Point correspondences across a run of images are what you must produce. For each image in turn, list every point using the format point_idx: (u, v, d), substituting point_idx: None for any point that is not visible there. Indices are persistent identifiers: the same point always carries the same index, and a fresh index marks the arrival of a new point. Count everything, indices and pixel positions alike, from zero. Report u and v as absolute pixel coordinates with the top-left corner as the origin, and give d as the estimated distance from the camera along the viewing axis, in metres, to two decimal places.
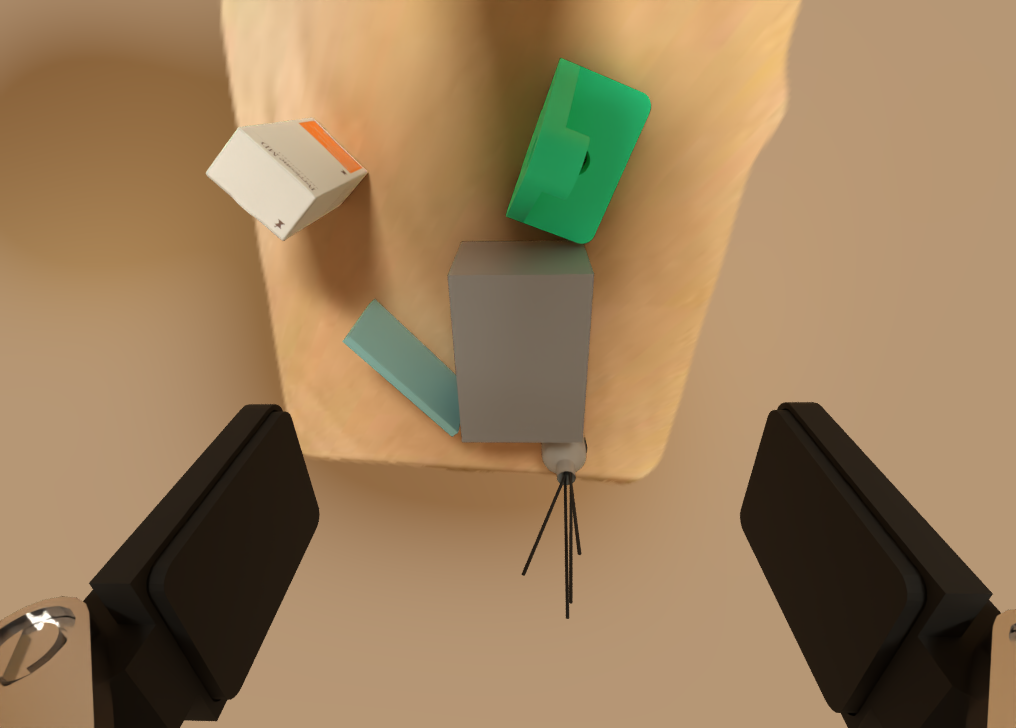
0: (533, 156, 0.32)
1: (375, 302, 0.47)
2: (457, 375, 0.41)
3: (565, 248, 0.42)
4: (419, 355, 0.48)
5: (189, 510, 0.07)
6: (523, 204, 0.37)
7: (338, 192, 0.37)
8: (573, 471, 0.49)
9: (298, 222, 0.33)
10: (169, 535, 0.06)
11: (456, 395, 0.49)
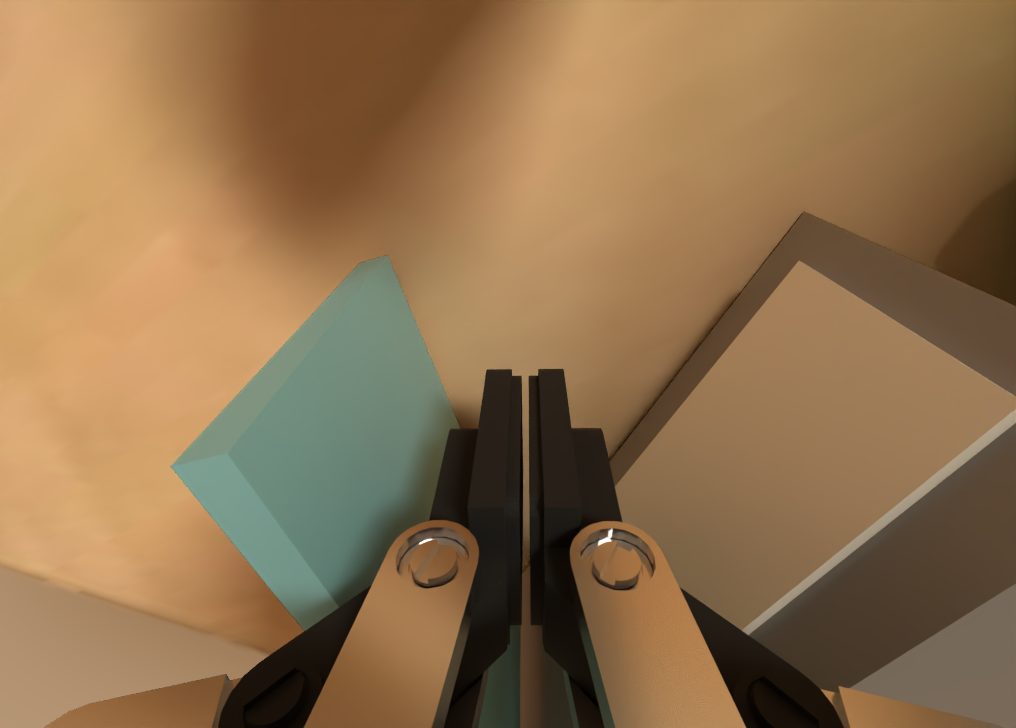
0: None
1: (387, 269, 0.13)
2: None
3: None
4: None
5: (505, 452, 0.08)
6: None
7: None
8: None
9: None
10: (505, 471, 0.07)
11: (511, 634, 0.16)
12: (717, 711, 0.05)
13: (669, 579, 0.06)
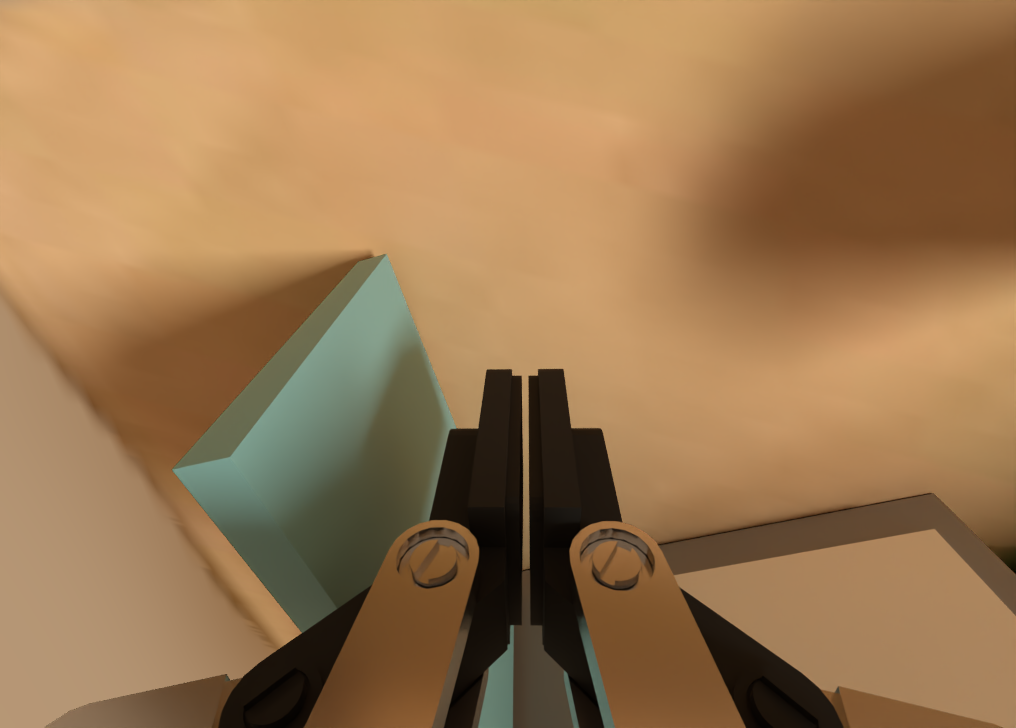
0: None
1: (386, 269, 0.13)
2: None
3: None
4: None
5: (505, 452, 0.08)
6: None
7: None
8: None
9: None
10: (505, 471, 0.07)
11: None
12: (717, 711, 0.05)
13: (669, 579, 0.06)
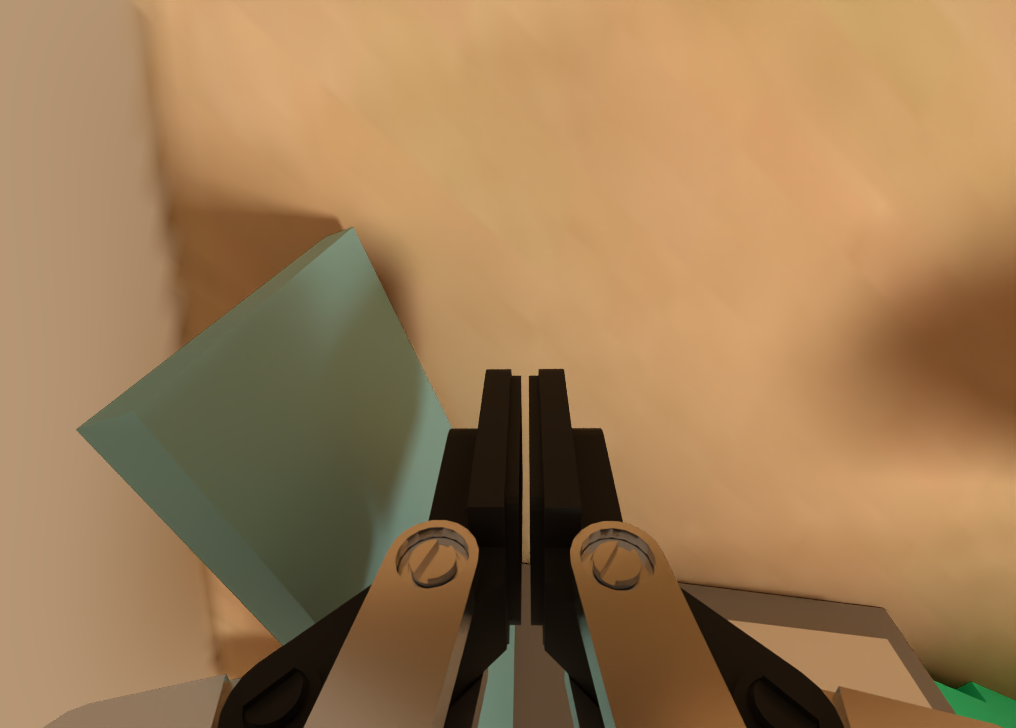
0: None
1: (352, 242, 0.12)
2: None
3: None
4: None
5: (504, 452, 0.08)
6: None
7: None
8: None
9: None
10: (505, 470, 0.07)
11: None
12: (717, 711, 0.05)
13: (669, 579, 0.06)
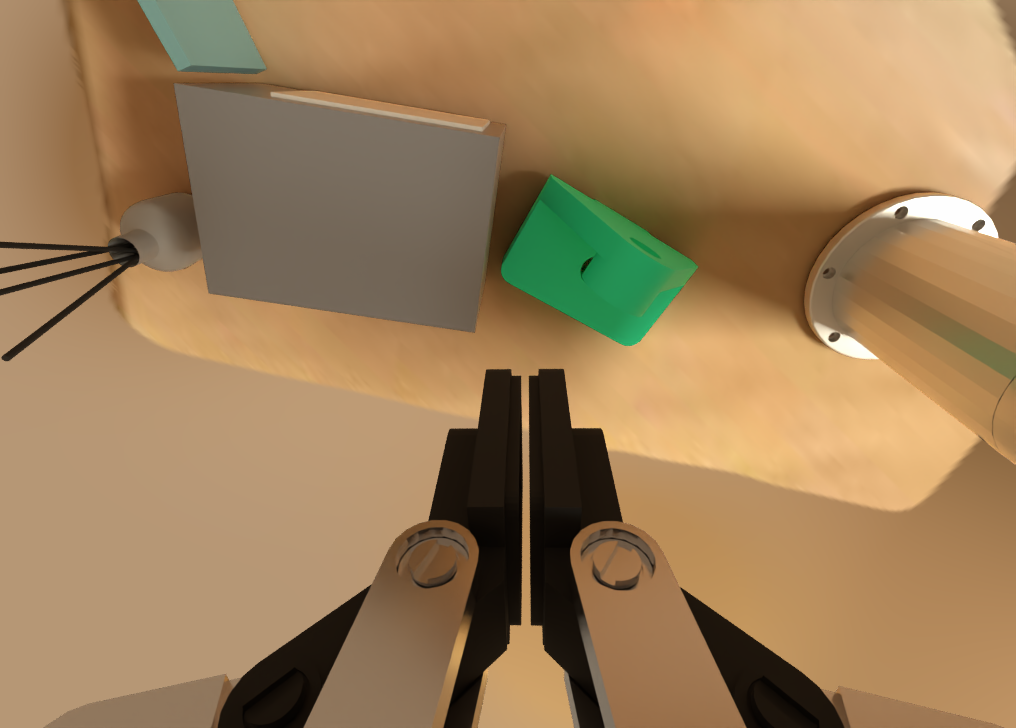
0: (653, 261, 0.26)
1: None
2: (322, 110, 0.24)
3: None
4: None
5: (505, 452, 0.08)
6: (576, 217, 0.30)
7: None
8: (139, 263, 0.30)
9: None
10: (505, 471, 0.07)
11: (230, 46, 0.28)
12: (718, 711, 0.05)
13: (669, 579, 0.06)
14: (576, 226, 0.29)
